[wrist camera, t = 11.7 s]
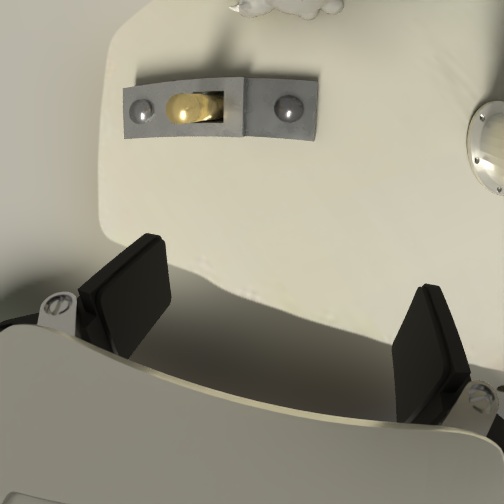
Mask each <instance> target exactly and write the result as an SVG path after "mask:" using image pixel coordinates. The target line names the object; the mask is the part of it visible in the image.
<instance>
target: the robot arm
mask: <svg viewBox="0 0 504 504" xmlns="http://www.w3.org/2000/svg"><path fill="white" fill-rule="evenodd" d="M467 149H468V157H469V161H470V165H471V167H472V170H473V172H474V174H475V176H476V178H477V179H478V180H479V182H480V183H481V184H482V185H483V186H484V187H485V188H486V189H488V190H489V191H491V192H492V193H494V194H497V195H501V196H504V101H491V102H488V103H486V104H484V105H483V106H481V107H480V108H479V109H478V110H477V111H476V113H475V115H474V116H473V118H472V120H471V123H470V126H469V130H468V136H467ZM474 159H475V161H474ZM78 292H79V295H80V296H79V297H78V298H76V297H75V295H74V294H72V293H70V292H59V293H56V294H53V295H51V296H49V297H48V298H47V299H46V300H45V301H44V302H43V303H42V305H41V308H40V313H36V314H31V315H27V316H23V317H18V318H14V319H10V320H6V321H3V322H1V323H0V504H504V419H502V418H501V417H500V416H499V415H498V414H497V411H498V408H499V398H498V395H497V393H496V391H495V390H494V388H493V387H492V386H491V385H490V384H488V383H486V382H485V381H481V380H473V381H471V378H470V373H471V371H470V368H469V364H468V361H467V358H466V355H465V352H464V349H463V346H462V343H461V340H460V337H459V334H458V331H457V328H456V326H455V323H454V320H453V318H452V315H451V312H450V310H449V307H448V305H447V302H446V300H445V298H444V295H443V293H442V291H441V288H440V287H439V286H436V285H431V284H424V285H423V286H422V287H418V289H417V291H416V293H415V296H414V298H413V300H412V303H411V305H410V307H409V310H408V312H407V314H406V316H405V319H404V321H403V323H402V325H401V327H400V329H399V332H398V334H397V336H396V338H395V340H394V342H393V345H392V356H393V367H394V379H395V393H396V414H397V423H393V422H382V421H371V420H363V419H353V418H345V417H338V416H331V415H324V414H318V413H312V412H306V411H300V410H295V409H291V408H285V407H281V406H276V405H271V404H267V403H263V402H258V401H254V400H250V399H246V398H242V397H238V396H234V395H231V394H227V393H224V392H220V391H217V390H213V389H210V388H206V387H203V386H200V385H197V384H193V383H190V382H187V381H184V380H181V379H178V378H176V377H173V376H170V375H167V374H164V373H161V372H159V371H156V370H153V369H150V368H148V367H145V366H142V365H140V364H138V363H135V362H133V361H130V360H128V359H129V357H130V356H131V355H132V353H133V351H135V349H136V348H137V346H138V345H139V344H140V343H141V341H142V340H143V339H144V337H145V336H146V335H147V333H148V332H149V331H150V330H151V328H152V327H153V326H154V324H155V323H156V321H157V320H158V319H159V318H160V316H161V315H162V314H163V313H164V311H165V310H166V308H167V307H168V306H169V305H170V302H171V290H170V282H169V274H168V265H167V256H166V246H165V241H164V240H162V238H161V236H159V235H154V234H149V233H146V234H144V235H143V236H141V237H140V238H139V239H138V240H136V241H135V242H134V243H132V244H131V245H130V246H129V247H127V248H126V249H125V250H124V251H123V252H122V253H120V254H119V255H118V256H116V257H115V258H114V259H113V260H112V261H110V262H109V263H108V264H107V265H105V266H104V267H103V268H102V269H101V270H99V271H98V272H97V273H96V274H95V275H94V276H92V277H91V278H90V279H89V280H88V281H87V282H85V283H84V284H83V285H82V286H81V287H80V288H79V289H78Z"/></svg>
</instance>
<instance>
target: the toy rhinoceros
mask: <svg viewBox="0 0 504 504" xmlns="http://www.w3.org/2000/svg"><path fill="white" fill-rule="evenodd" d="M343 7H344V3H343V1H342V0H239V4H238V5H236V6H230V7H229V8H230V9H232V10H233V11H236V12H240V13H241V15H242V16H245V17H248V18H254V17H257V16H259V15H264V14H267V13H269V12H271V11H272V10H273V9H274V8H276V9H277V10H279V11H282V12H284V13H288V14H294V15H298V16H299V17H301V18H303V19H306V20H311V19H314V18H315V17H316V16H317V15H318V13H319V9H320V8H321V9H322V10H323V11H325V12H326V13H329V14H338V13H340V12H341V11H342V9H343Z"/></svg>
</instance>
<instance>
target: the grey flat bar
mask: <svg viewBox="0 0 504 504" xmlns="http://www.w3.org/2000/svg"><path fill="white" fill-rule="evenodd" d="M207 92H224V121H223V122H202V121H198V122H192V123H186V124H174V123H172V122H171V121H170V120H169V119H168V117H167V115H166V110H165V109H166V104H167V102H168V100H169V99H170V98H171V97H172V96H173V95H175V94H179V93H186V94H202V93H207ZM317 92H318V81H307V80H293V79H272V78H245V77H221V78H202V79H189V80H178V81H169V82H161V83H153V84H146V85H140V86H134V87H128V88H123V119H124V139H132V138H149V137H177V136H221V137H244V136H255V137H271V138H285V139H296V140H306V141H314V140H315V127H316V111H317Z"/></svg>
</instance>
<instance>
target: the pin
mask: <svg viewBox="0 0 504 504" xmlns="http://www.w3.org/2000/svg"><path fill="white" fill-rule="evenodd" d="M165 110H166V115H167V117H168V119H169V120H170V121H171V122H172V123H174V124H186V123H192V122H198V121H205V120H212V119H219V118H222V117H223V116H224V98H223V97H222V96H217V95H204V94H186V93H179V94H175V95H173V96H172V97H171V98H170V99H169V100H168V102H167V104H166V109H165Z"/></svg>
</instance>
